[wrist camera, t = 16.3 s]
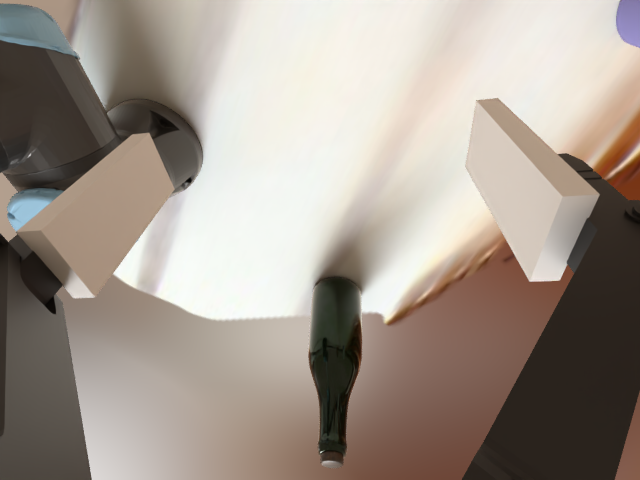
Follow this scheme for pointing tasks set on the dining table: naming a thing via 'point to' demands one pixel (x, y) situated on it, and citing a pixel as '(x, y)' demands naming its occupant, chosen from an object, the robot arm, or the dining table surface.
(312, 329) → the beer bottle
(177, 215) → the dining table surface
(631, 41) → the container
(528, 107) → the dining table surface
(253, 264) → the dining table surface
